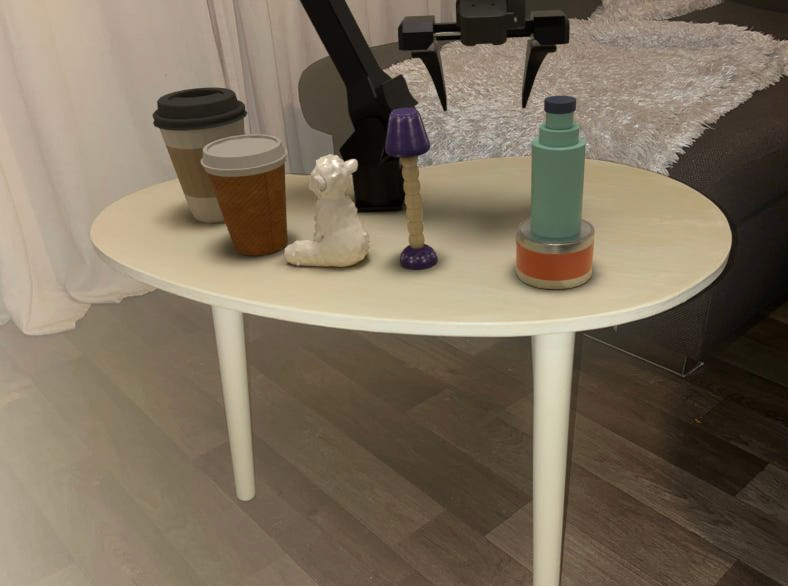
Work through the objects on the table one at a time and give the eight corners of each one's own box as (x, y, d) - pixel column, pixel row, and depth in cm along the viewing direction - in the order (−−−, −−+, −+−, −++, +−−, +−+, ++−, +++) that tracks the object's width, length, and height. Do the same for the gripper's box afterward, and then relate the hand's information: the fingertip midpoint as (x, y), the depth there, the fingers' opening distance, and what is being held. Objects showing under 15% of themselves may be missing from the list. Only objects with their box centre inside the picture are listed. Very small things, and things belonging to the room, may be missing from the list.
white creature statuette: (341, 235, 92) (328, 136, 86) (394, 250, 88) (385, 147, 81) (282, 263, 86) (264, 159, 79) (336, 281, 81) (322, 172, 75)
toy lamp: (431, 272, 82) (422, 116, 73) (390, 270, 83) (376, 116, 74) (441, 254, 86) (433, 104, 77) (401, 252, 87) (389, 103, 78)
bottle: (520, 226, 79) (521, 98, 72) (559, 215, 81) (564, 89, 74) (551, 242, 75) (555, 109, 68) (591, 230, 77) (599, 99, 71)
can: (518, 290, 78) (518, 245, 75) (514, 257, 85) (514, 215, 82) (596, 288, 77) (600, 243, 75) (586, 255, 84) (589, 212, 81)
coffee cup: (261, 193, 106) (241, 81, 98) (267, 222, 97) (246, 101, 89) (177, 204, 104) (149, 91, 96) (175, 234, 94) (144, 112, 86)
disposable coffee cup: (220, 235, 94) (199, 138, 87) (298, 225, 95) (283, 129, 89) (220, 266, 86) (196, 162, 79) (304, 255, 87) (288, 152, 81)
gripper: (387, -29, 74) (400, 131, 83) (578, -38, 74) (571, 125, 82) (397, -39, 84) (407, 105, 92) (566, -47, 83) (561, 99, 91)
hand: (484, 109), depth 89 cm, fingers open, 9 cm apart
